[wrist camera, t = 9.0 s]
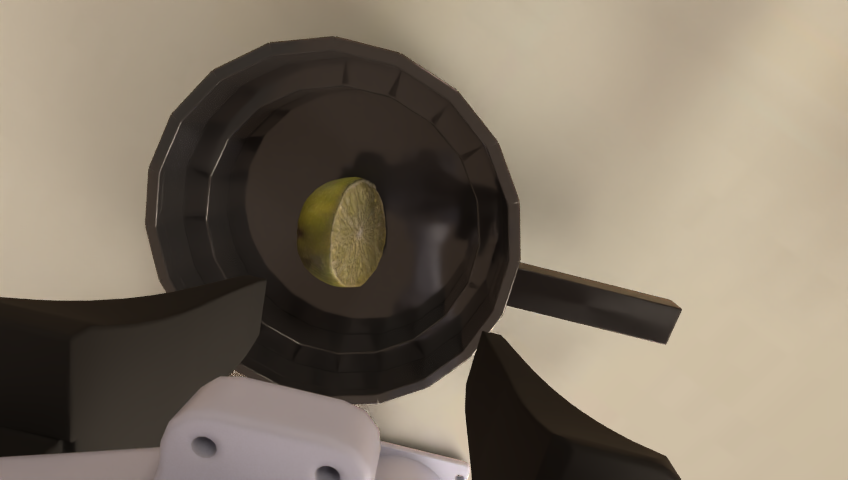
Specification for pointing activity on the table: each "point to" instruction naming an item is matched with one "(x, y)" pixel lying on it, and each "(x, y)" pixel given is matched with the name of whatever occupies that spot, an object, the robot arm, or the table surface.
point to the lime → (342, 232)
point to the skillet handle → (593, 303)
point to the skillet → (311, 168)
